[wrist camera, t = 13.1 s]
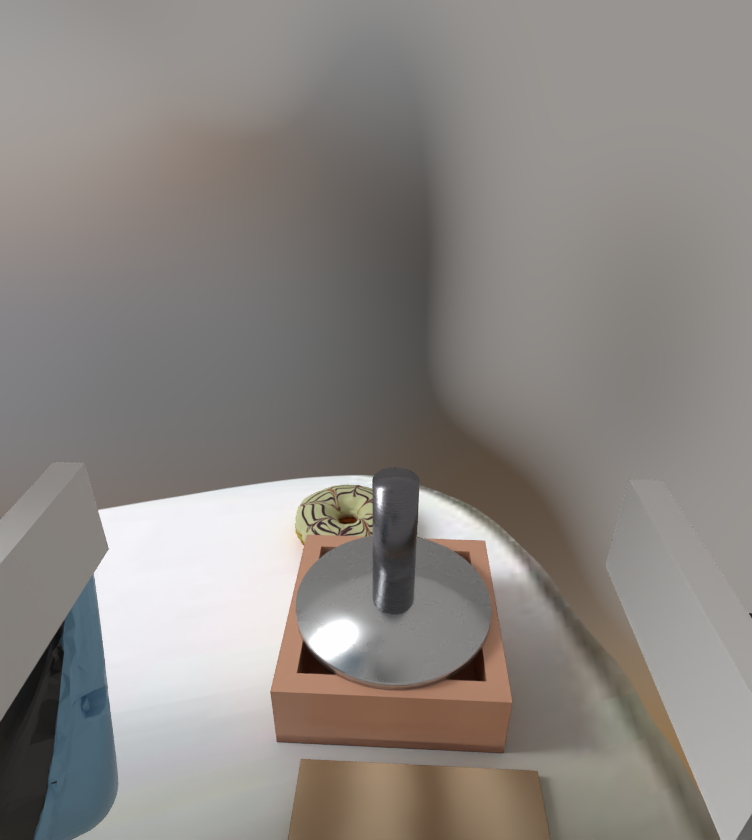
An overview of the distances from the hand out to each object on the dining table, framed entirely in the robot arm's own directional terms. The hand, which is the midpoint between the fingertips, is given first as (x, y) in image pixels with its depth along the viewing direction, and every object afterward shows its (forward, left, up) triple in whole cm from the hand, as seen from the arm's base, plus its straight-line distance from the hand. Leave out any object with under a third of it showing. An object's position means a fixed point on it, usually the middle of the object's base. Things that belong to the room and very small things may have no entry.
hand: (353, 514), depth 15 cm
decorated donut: (-4, +36, -32) cm, 48 cm away
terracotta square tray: (+1, +22, -31) cm, 38 cm away
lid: (+1, +22, -26) cm, 34 cm away
